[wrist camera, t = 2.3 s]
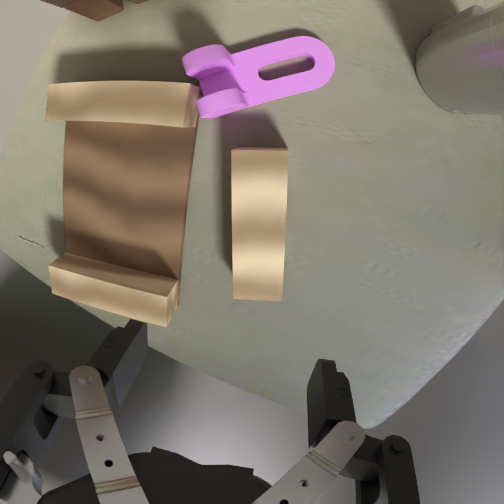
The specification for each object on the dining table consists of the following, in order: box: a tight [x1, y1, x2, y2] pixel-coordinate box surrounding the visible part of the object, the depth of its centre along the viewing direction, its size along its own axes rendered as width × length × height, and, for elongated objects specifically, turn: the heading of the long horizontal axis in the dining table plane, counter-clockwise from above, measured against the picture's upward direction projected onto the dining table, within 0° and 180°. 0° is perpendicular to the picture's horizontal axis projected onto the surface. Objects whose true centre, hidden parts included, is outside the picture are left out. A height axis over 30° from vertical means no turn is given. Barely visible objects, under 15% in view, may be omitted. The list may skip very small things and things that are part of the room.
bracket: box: [182, 36, 335, 118], centre depth 24 cm, size 13×6×7 cm, turn 107°
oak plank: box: [231, 147, 288, 301], centre depth 32 cm, size 15×5×4 cm, turn 0°
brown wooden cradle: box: [45, 81, 203, 327], centre depth 31 cm, size 25×16×5 cm, turn 170°
